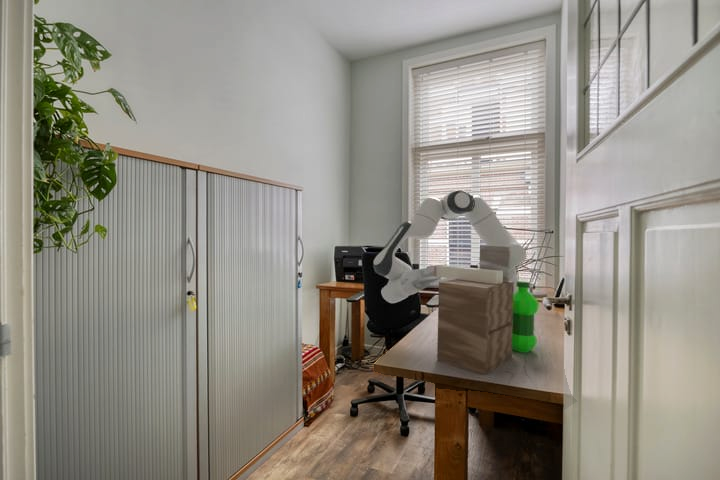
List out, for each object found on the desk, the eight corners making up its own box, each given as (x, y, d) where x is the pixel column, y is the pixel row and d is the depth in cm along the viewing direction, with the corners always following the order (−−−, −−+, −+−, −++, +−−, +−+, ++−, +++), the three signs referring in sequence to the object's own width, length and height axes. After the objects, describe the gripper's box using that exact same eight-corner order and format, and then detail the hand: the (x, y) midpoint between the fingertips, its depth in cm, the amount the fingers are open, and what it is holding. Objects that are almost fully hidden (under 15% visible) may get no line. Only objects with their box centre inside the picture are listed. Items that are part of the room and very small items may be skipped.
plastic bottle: (528, 357, 119) (530, 284, 119) (500, 348, 128) (501, 280, 127) (542, 351, 125) (544, 282, 125) (515, 343, 134) (516, 279, 133)
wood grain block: (468, 345, 130) (470, 244, 129) (511, 356, 119) (514, 246, 118) (437, 360, 114) (439, 245, 113) (484, 375, 103) (487, 247, 102)
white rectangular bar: (442, 275, 132) (442, 264, 132) (502, 283, 114) (503, 270, 114) (434, 276, 129) (435, 265, 129) (495, 284, 111) (496, 271, 111)
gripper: (394, 276, 132) (421, 260, 123) (424, 272, 147) (450, 258, 138) (400, 291, 130) (428, 276, 121) (430, 286, 145) (457, 272, 136)
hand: (440, 266), depth 130 cm, fingers open, 8 cm apart
